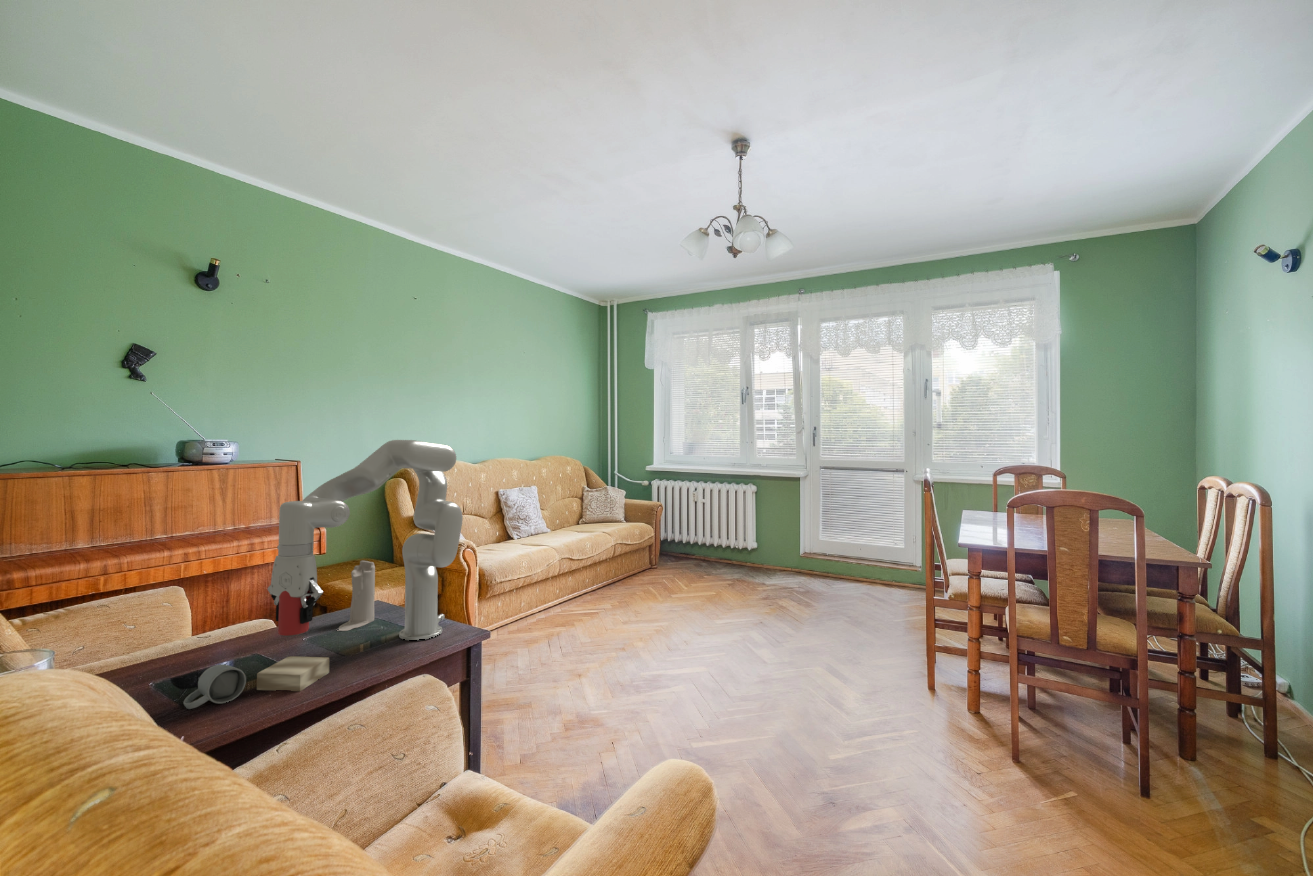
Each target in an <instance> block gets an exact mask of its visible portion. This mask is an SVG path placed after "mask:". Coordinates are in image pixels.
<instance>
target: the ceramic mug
mask: <svg viewBox="0 0 1313 876" xmlns="http://www.w3.org/2000/svg"><path fill="white" fill-rule="evenodd" d="M246 684H247V676H246V674H245V673H244V671H243V670H242V669H240V668H237V667H234V666H232V665H229V664H224V663H223V664H216V665H213V666H211V667H209V668H207V669H205V670H204V672H202V673H201V675H200V676H199V678H198V681H197V689H196V690H194V691H193V692H191V693H190V694H188V696H187V695H186V697H185V699H184V700H183V705H184V707H185V708H186V709H188V710H191V709H192V710H193V709H196V708H198V707H201V706H202V705H204V704H205V703H207V702H208V701H210V702H212V703H214V704H217V705H218V704H219V705H222V704H227V703H230V702H232V701H233V700H235V699H236V698H237V697H239V696H240V695H241V694H242V692H243V691H244V689H245V686H246ZM200 695H203V696H201V697H199V696H200ZM198 697H199V698H198ZM196 698H198V699H196ZM229 701H230V702H229ZM226 702H227V703H226Z"/></svg>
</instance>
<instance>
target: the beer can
mask: <svg viewBox="0 0 1313 876" xmlns="http://www.w3.org/2000/svg"><path fill="white" fill-rule="evenodd" d="M285 589H287V588H285ZM307 594H308V591H307ZM306 600H308V596H307V597H306ZM302 607H303V606H302V603H301V601H300V598H294V597H291V596H290V594H289V593H288V592H287V591H283V592H282V593H281V594H280V596H279V621H277V622H278V625H277V627H278V628H277V634H278V635H279V636H281V637H287V638H289V637H297V636H301V635H304V634H306V633H307V632H308V631H309V629H310V621H309V622H307V623H304V624H300V608H302Z"/></svg>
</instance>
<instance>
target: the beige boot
mask: <svg viewBox="0 0 1313 876" xmlns="http://www.w3.org/2000/svg"><path fill="white" fill-rule="evenodd" d="M375 584H376V566H375V563H374V562H373V561H368V560H360V561H359V564H357V565H355V566H354V567H353V570H352V571H351V587H352V588H351V589H352V592H351V593H352V595H351V602H350V608H349V609H350V610H349V619H348V621H347V622H345V623H342V624H341V625H340V626H338V629H339V630H337V629H336V630H337V632H338V631H341V632H347V631H350V630H353V629H357V628H361V627H363V626H365V625H367V624H370V623H372V622H374V621H375V592H376V591H375V590H376V589H375V588H376V585H375Z"/></svg>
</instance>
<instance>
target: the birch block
mask: <svg viewBox="0 0 1313 876" xmlns="http://www.w3.org/2000/svg"><path fill="white" fill-rule="evenodd" d="M329 673H330V657H325V656H320V657H319V656H298V655H297V656H296V655H295V656H294V655H292V656H291V655H290V656H289V655H288V656H286V657H285V658H283V659H281V660H280V661H277V662H275V663H274V664H272V665H270V666H269V667H266V668H264V669H262V670H260V671H259V672H257V673H256V690H257V691H276V690H291V691H290V692H302V691H304V690H305V689H306V688H307V687H309V686H311V685H312V684H314V683H315V682H317V681H318V679H319V680H320V679H322V678H323V677H325V676H327V675H328V674H329Z"/></svg>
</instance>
